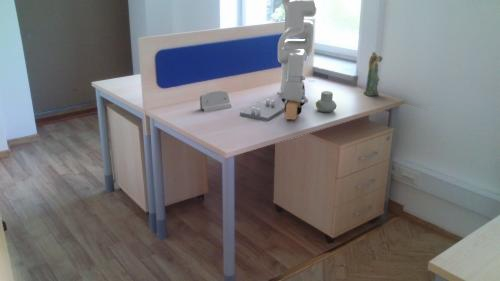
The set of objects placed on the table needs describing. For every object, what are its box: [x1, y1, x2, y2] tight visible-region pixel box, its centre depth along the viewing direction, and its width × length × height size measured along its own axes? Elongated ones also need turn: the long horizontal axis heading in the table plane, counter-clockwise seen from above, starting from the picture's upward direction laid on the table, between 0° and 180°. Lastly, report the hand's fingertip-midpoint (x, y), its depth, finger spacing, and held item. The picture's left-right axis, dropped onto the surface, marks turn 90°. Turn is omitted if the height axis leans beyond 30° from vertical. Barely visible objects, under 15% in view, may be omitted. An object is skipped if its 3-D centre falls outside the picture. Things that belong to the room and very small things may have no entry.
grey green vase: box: [315, 90, 337, 113], centre depth 252 cm, size 11×8×10 cm
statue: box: [363, 51, 383, 97], centre depth 278 cm, size 7×8×25 cm
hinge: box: [199, 90, 232, 113], centre depth 253 cm, size 17×5×10 cm, turn 121°
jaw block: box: [285, 100, 299, 120], centre depth 240 cm, size 12×5×7 cm, turn 165°
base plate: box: [239, 98, 285, 122], centre depth 248 cm, size 20×16×4 cm
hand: (292, 112), depth 241 cm, fingers closed on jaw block, 5 cm apart
